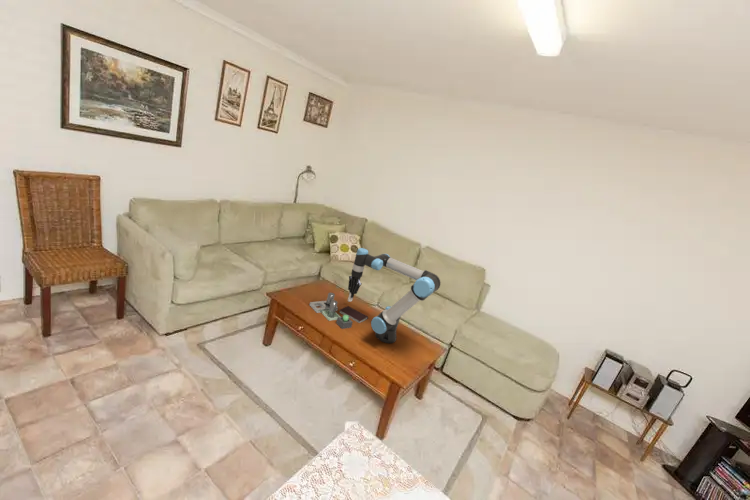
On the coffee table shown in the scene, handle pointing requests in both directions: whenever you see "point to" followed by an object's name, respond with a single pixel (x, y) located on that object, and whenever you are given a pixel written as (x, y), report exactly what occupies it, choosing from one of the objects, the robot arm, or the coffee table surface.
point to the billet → (332, 308)
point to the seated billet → (329, 299)
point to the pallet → (321, 304)
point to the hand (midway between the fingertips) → (349, 300)
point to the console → (344, 323)
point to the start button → (345, 318)
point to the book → (353, 314)
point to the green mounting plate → (329, 317)
